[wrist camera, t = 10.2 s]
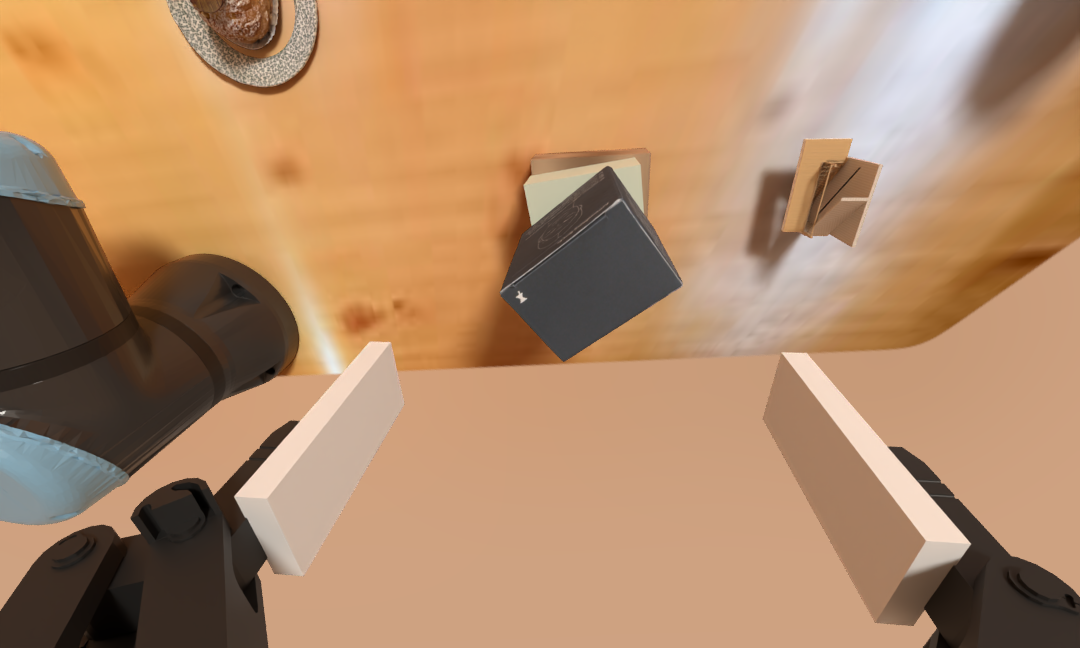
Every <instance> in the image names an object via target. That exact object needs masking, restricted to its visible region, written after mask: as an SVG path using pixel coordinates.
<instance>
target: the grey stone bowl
mask: <svg viewBox="0 0 1080 648" xmlns="http://www.w3.org/2000/svg"><path fill="white" fill-rule="evenodd" d="M167 3H168V7H169V9H170V12H171V15H172V17H173V19H174V20H175V22H176V24H177V25H178V26H179V28H180V29H181V31H182V33H183V34H184V36H185V38H186V39H187V41H188V42H189V44H190V45H191V46H192V47H193V48H194V50H195V51H196V52H197V53H198V54H199V55H200V56H201V57H202V58H203V59H204V60H205V61H206V62H207V63H208V64H209V65H211V66H212V67H213V68H215V69H216V70H217V71H219V72H220V73H222V74H224V75H226V76H227V77H229V78H231V79H233V80H235V81H237V82H240V83H243V84H246V85H251V86H256V87H274V86H278V85H281V84H283V83H285V82H287V81H289V80H290V79H292V78H293V77H294V76H295V75H296V74H298V73H299V72H300V71H301V70H302V69H303V67H304V66H305V65H306V63H307V61H308V60H309V57H310V55H311V52H312V51H313V47H314V44H315V40H316V34H317V24H318V17H317V2H316V0H294V5H295V25H294V30H293V33H292V36H291V38H290V40H289V42H288V44H287V45H286V47H285V48H284V49H283V50H282V51H280V52H279V53H278V54H276V55H273V56H271V57H268V58H254V57H249V56H246V55H244V54H241V53H239V52H238V51H236V50H234V49H233V48H231V47H230V46H229V45H228V44H226V43H225V42H224V41H223V40H222V39H221V38H220V37H219V36H218V35H217V33H219V34H221V35H222V36H224V37H226V38H227V39H228V40H230V41H231V42H233V43H235V44H237V45H239V46H241V47H244V48H247V49H251V50H255V49H259V48H263V46H264V45H265V46H266V44H268V43H269V42H270V41H271V40H272V37H273V35H275V29H276V28H275V27H276V25H277V20H278V0H167ZM213 29H214V30H215V31H216V32H217V33H216V32H215V31H214V30H213ZM268 31H269V32H268ZM261 38H262V39H261ZM258 39H261V40H258Z"/></svg>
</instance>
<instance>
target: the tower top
mask: <svg viewBox="0 0 1080 648" xmlns="http://www.w3.org/2000/svg"><path fill="white" fill-rule="evenodd" d="M606 166H610V167H612V169H613V171H614V172H615V173H616V175H617V176H618V178H619V179H620V180H621V182H622V183H623V185H624V186H625V188H626V189H627V191H628V192H629V193H630V195H631V196H632V198H633V199H634V201H635V202H636V203H637V205H638V206H639V208H640V209H641V210H642V212H643V213H644V206H643V191H642V177H641V165H640V163H639V162H638V161H637V160H636V158H635V157H634V158H628V159H622V160H617V161H611V162H606V163H600V164H594V165H589V166H583V167H577V168H572V169H566V170H561V171H555V172H549V173H544V174H538V175H532V176H530V177H529V178H528V180H527V181H526V183H525V184H524V190H525V195H526V200H527V205H528V210H529V216H530V221H531V226H533V225H534V224H535V223H536V222H538V221H539V220H540V219H541V218H542V217H544V216H545V215H546V214H547V213H549V212H550V211H551V210H552V209H553V208H555V207H556V206H557V205H558V204H560V203H561V202H562V201H563V200H565V199H566V198H567V197H568V196H570V195H571V194H572V193H573V192H574V191H576V190H577V189H578V188H579V187H581V186H582V185H583V184H584V183H586V182H587V181H588V180H589V179H591V178H592V177H593V176H594V175H596V174H597V173H598V172H599V171H601V170H602V169H603V168H605V167H606Z"/></svg>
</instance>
